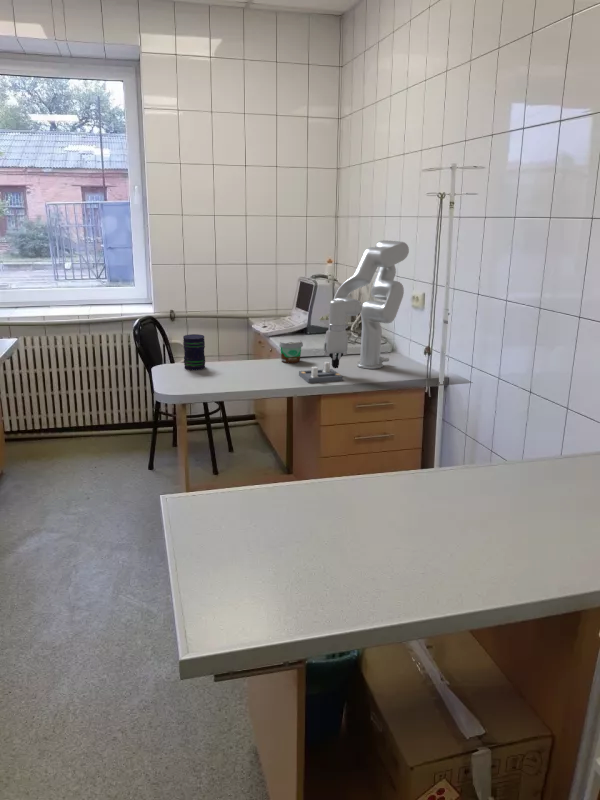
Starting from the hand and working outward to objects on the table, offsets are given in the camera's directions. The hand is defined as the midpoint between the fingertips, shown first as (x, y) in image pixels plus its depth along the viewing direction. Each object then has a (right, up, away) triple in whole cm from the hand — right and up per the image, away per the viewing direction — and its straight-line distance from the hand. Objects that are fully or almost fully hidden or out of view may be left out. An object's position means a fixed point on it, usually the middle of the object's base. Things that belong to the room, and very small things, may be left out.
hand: (335, 367), depth 283 cm
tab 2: (-4, -3, 0) cm, 5 cm away
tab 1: (-10, -5, -9) cm, 14 cm away
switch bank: (-7, -5, -5) cm, 10 cm away
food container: (-20, +3, +22) cm, 29 cm away
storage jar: (-66, 0, +8) cm, 66 cm away
